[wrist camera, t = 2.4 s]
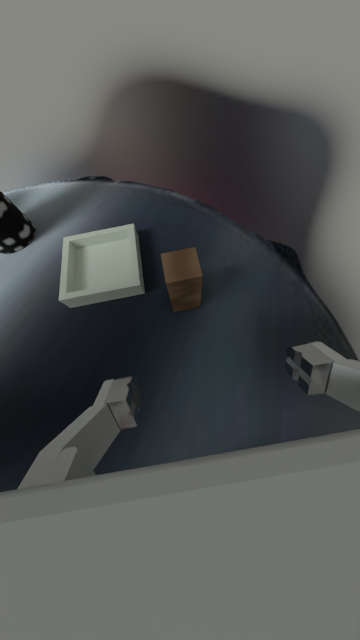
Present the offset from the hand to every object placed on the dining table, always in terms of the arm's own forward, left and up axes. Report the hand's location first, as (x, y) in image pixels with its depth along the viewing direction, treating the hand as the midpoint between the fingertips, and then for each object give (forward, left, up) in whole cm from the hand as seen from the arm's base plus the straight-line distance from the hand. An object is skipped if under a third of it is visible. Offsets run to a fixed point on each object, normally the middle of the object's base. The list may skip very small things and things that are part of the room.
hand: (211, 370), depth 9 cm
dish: (-12, +20, -14) cm, 27 cm away
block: (0, +12, -14) cm, 19 cm away
